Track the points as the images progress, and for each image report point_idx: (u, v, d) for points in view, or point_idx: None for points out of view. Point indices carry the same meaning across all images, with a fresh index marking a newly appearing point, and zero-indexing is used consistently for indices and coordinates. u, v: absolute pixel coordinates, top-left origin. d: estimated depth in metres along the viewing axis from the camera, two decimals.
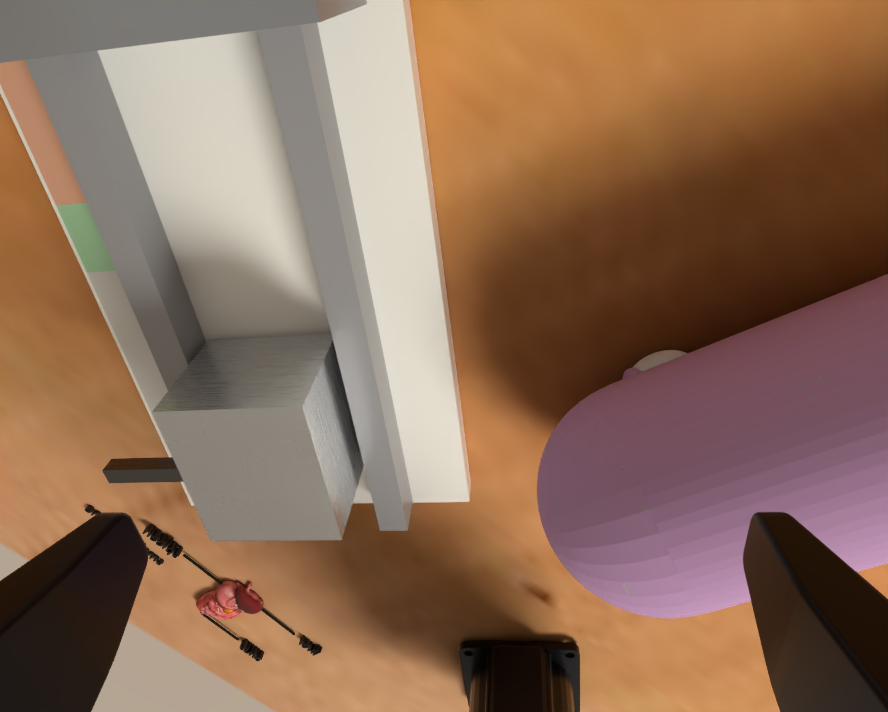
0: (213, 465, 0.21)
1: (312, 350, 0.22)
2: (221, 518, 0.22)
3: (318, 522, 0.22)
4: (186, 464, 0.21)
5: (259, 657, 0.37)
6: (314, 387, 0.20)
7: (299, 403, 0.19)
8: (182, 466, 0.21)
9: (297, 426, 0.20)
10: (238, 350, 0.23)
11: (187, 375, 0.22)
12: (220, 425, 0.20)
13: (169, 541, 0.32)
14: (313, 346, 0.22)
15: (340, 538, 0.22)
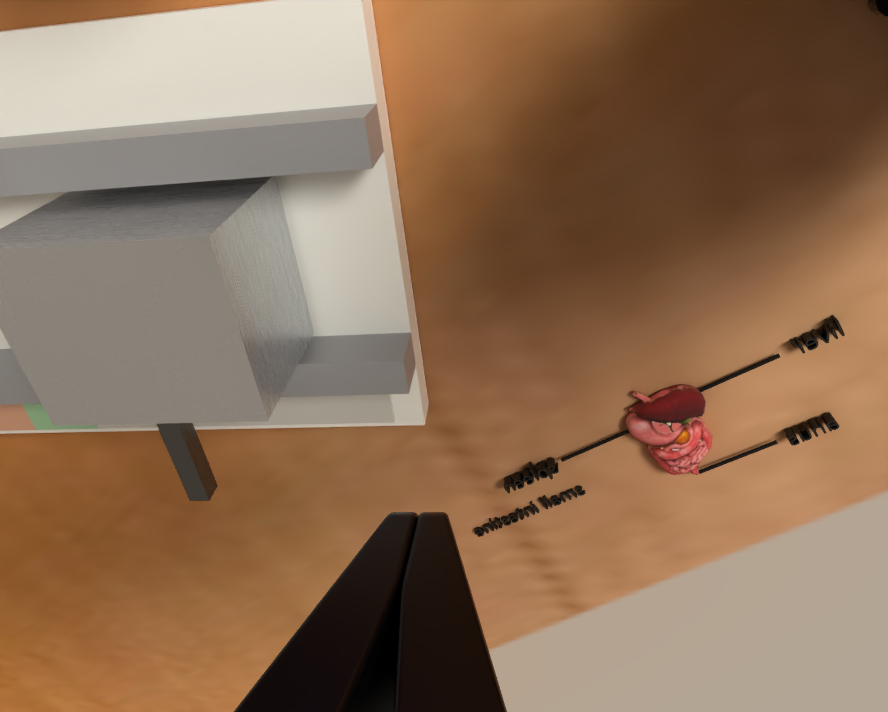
0: (114, 382, 0.16)
1: None
2: (215, 397, 0.16)
3: (178, 266, 0.14)
4: (126, 412, 0.16)
5: (829, 422, 0.21)
6: (4, 230, 0.15)
7: None
8: (131, 417, 0.16)
9: None
10: None
11: None
12: (39, 358, 0.16)
13: None
14: None
15: (205, 237, 0.13)
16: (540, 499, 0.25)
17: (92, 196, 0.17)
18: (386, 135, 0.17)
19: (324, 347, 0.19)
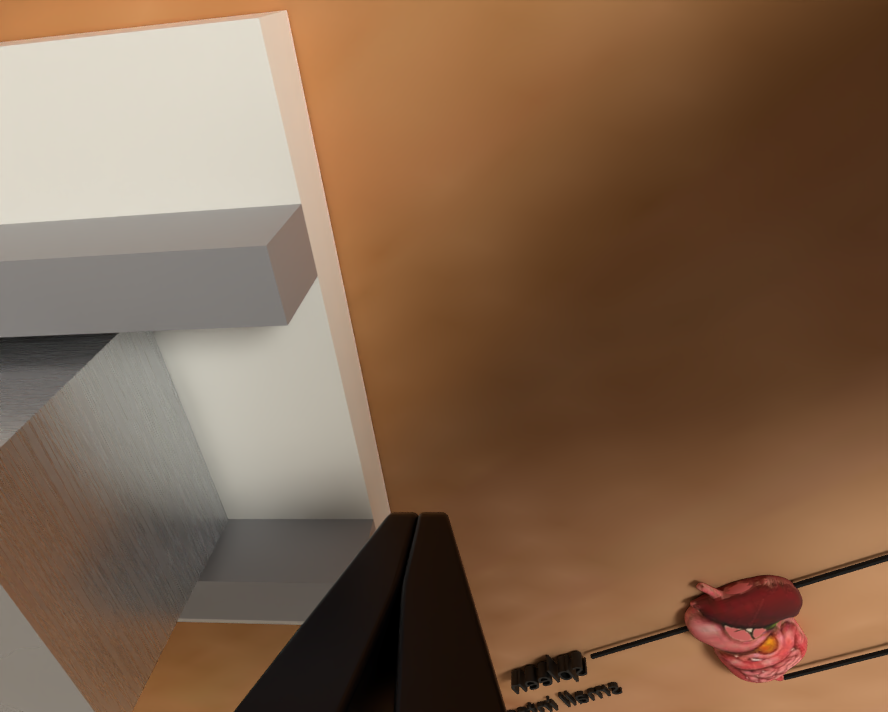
0: None
1: None
2: (23, 710, 0.09)
3: None
4: None
5: None
6: None
7: None
8: None
9: None
10: None
11: None
12: None
13: None
14: None
15: None
16: (560, 695, 0.18)
17: None
18: (324, 245, 0.11)
19: (242, 544, 0.13)
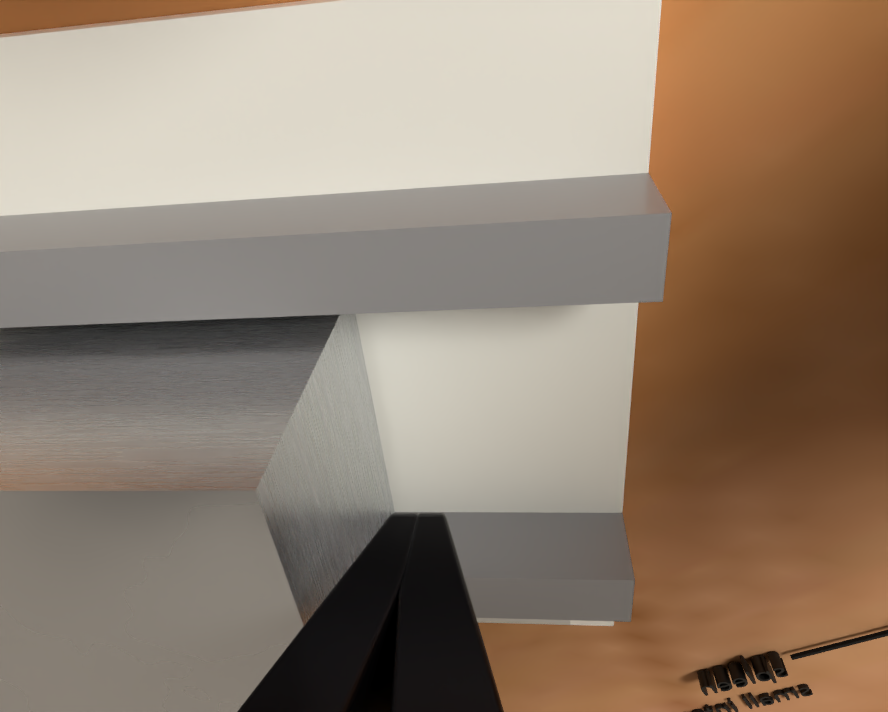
0: (71, 679, 0.09)
1: None
2: None
3: (190, 533, 0.07)
4: None
5: None
6: None
7: None
8: None
9: None
10: None
11: None
12: None
13: None
14: None
15: (248, 493, 0.06)
16: (744, 697, 0.18)
17: (41, 329, 0.10)
18: None
19: (489, 539, 0.12)
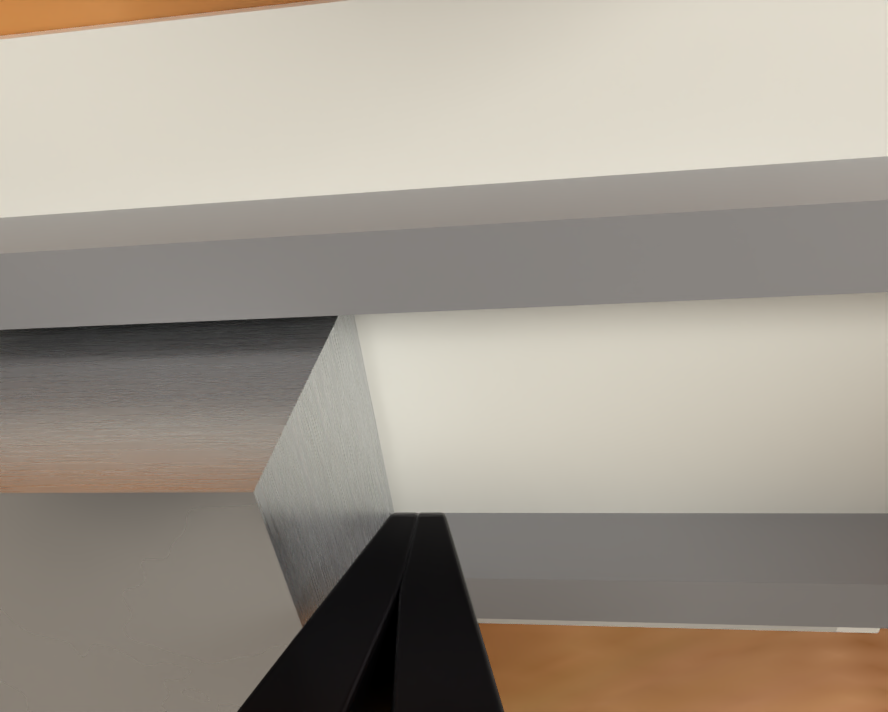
0: (71, 681, 0.09)
1: None
2: None
3: (188, 535, 0.07)
4: None
5: None
6: None
7: None
8: None
9: None
10: None
11: None
12: None
13: None
14: None
15: (246, 494, 0.06)
16: None
17: (40, 330, 0.10)
18: None
19: (795, 542, 0.12)
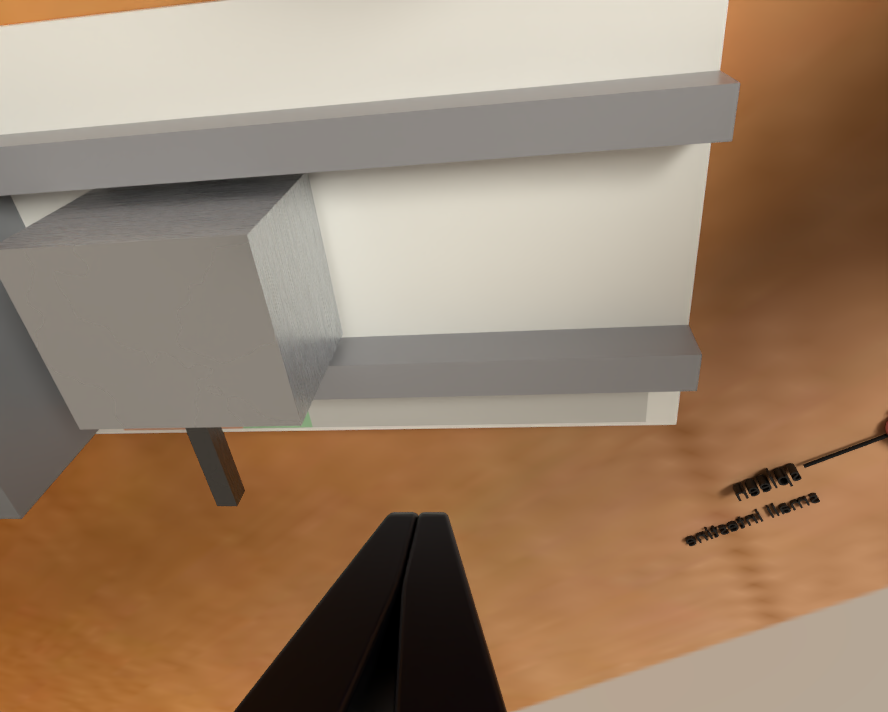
0: (143, 385, 0.15)
1: None
2: (248, 401, 0.15)
3: (213, 265, 0.13)
4: (154, 416, 0.16)
5: None
6: (31, 228, 0.15)
7: None
8: (160, 421, 0.16)
9: (24, 263, 0.14)
10: None
11: None
12: (66, 359, 0.15)
13: None
14: None
15: (243, 236, 0.13)
16: (767, 507, 0.23)
17: (119, 193, 0.16)
18: None
19: (598, 340, 0.18)
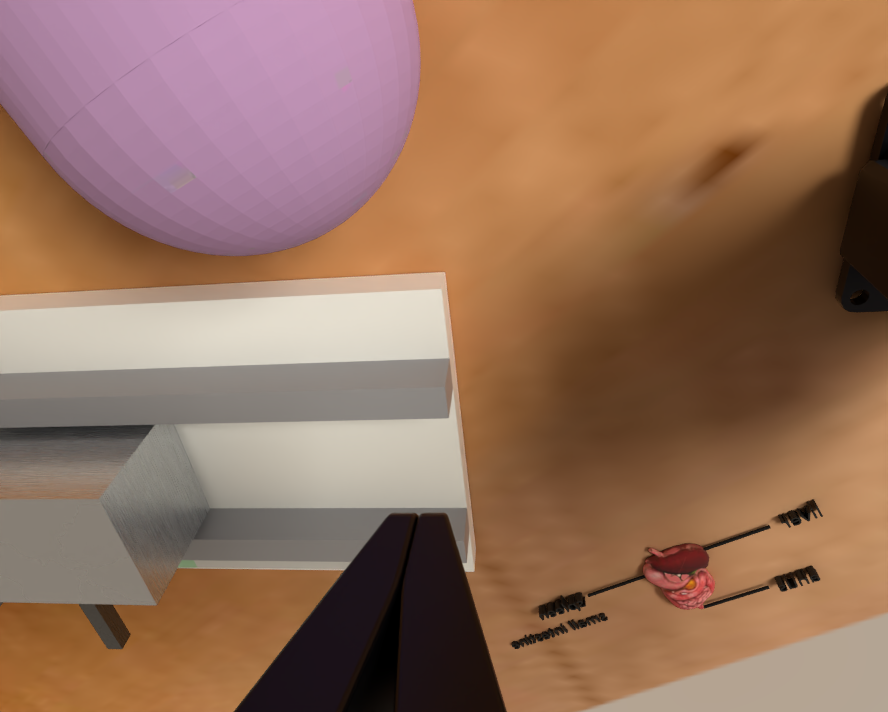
0: (40, 577, 0.21)
1: None
2: (116, 590, 0.21)
3: (79, 514, 0.19)
4: (51, 596, 0.22)
5: (811, 576, 0.25)
6: None
7: None
8: (56, 599, 0.22)
9: None
10: None
11: None
12: None
13: (562, 601, 0.28)
14: None
15: (96, 499, 0.19)
16: (569, 622, 0.29)
17: None
18: (453, 371, 0.21)
19: None
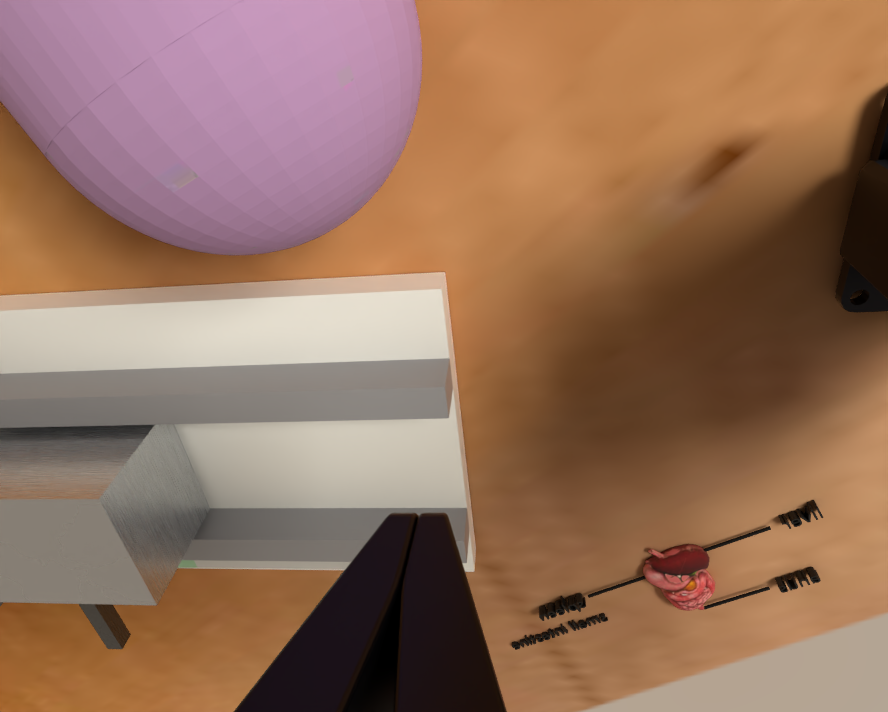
0: (40, 577, 0.21)
1: None
2: (116, 590, 0.21)
3: (79, 514, 0.19)
4: (51, 596, 0.22)
5: (812, 577, 0.25)
6: None
7: None
8: (56, 599, 0.22)
9: None
10: None
11: None
12: None
13: (562, 602, 0.28)
14: None
15: (96, 499, 0.19)
16: (569, 623, 0.29)
17: None
18: (453, 371, 0.21)
19: None
